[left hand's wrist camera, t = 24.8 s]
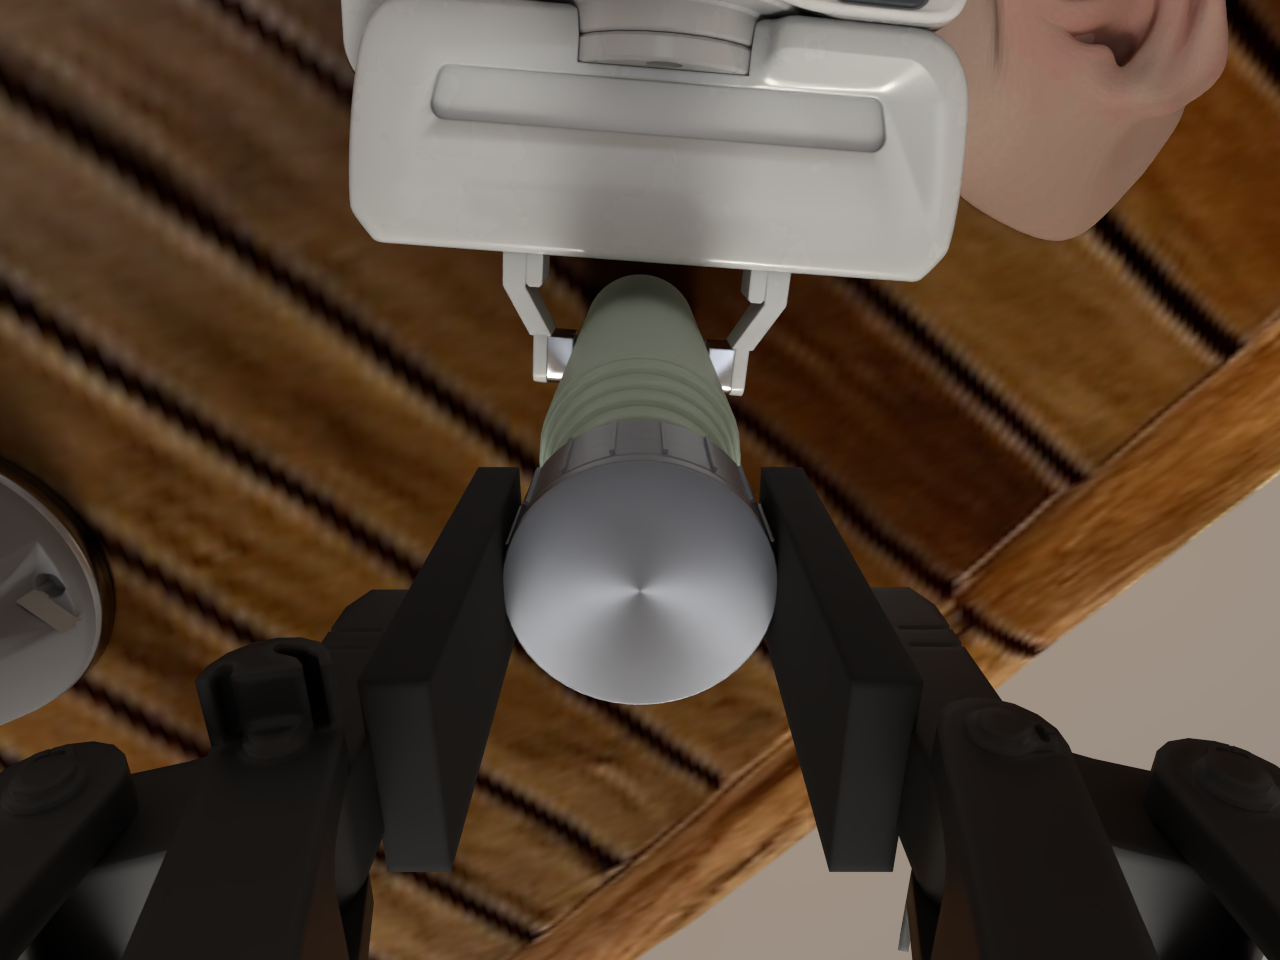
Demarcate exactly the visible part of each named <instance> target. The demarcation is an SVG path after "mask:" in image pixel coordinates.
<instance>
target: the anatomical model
mask: <svg viewBox="0 0 1280 960" xmlns="http://www.w3.org/2000/svg"><path fill="white" fill-rule="evenodd" d="M935 34H937V35H939V36H941V37H942V38H944V39H945V40H946V41H947V42H948V43H950V45H951V46H952V47H953V48H954V49H955V51H956V52H957V54H958V56H959V57H960V59H961V61H962V64H963V67H964V69H965V73H966V77H967V84H968V96H969V109H968V125H967V138H966V150H965V159H964V168H963V176H962V183H961V190H960V196H961V197H962V198H964V199H965V200H966V201H968V202H969V203H970V204H972V205H973V206H974V207H976V208H977V209H979V210H980V211H982V212H984V213H985V214H987V215H989V216H990V217H992V218H994V219H995V220H997V221H999V222H1001V223H1003V224H1005V225H1007V226H1009V227H1011V228H1013V229H1015V230H1017V231H1020V232H1022V233H1025V234H1028V235H1030V236H1033V237H1037V238H1040V239H1044V240H1051V241H1061V240H1066V239H1070V238H1073V237H1076V236H1078V235H1080V234H1082V233H1083V232H1085V231H1086V230H1088V229H1089V228H1091V227H1092V226H1093V225H1094V224H1095V223H1097V222H1098V221H1099V220H1100V219H1101V218H1102V217H1103V216H1104V215H1105V214H1106V213H1107V212H1108V211H1109V210H1110V209H1111V208H1112V207H1113V206H1114V205H1115V204H1116V203H1117V202H1118V201H1119V200H1120V198H1121V197H1122V196H1123V195H1124V194H1125V193H1126V192H1127V191H1128V190H1129V189H1130V187H1131V186H1132V185H1133V184H1134V183H1135V182H1136V181H1137V180H1138V179H1139V178H1140V176H1141V175H1142V174H1143V173H1144V172H1145V170H1146V169H1147V168H1148V166H1149V165H1150V164H1151V162H1152V161H1153V160H1154V158H1155V157H1156V155H1157V154H1158V153H1159V151H1160V150H1161V148H1162V147H1163V145H1164V144H1165V143H1166V141H1167V140H1168V138H1169V137H1170V136H1171V134H1172V132H1173V131H1174V129H1175V128H1176V126H1177V124H1178V122H1179V120H1180V118H1181V116H1182V113H1183V111H1184V108H1185V105H1186V104H1188V103H1190V102H1191V101H1193V100H1194V99H1196V98H1197V97H1199V96H1200V95H1202V94H1203V93H1204V92H1205V91H1207V90H1208V89H1209V88H1210V87H1211V86H1212V85H1213V84H1214V83H1215V82H1216V81H1217V79H1218V78H1219V77H1220V75H1221V73H1222V72H1223V70H1224V67H1225V65H1226V61H1227V56H1228V27H1227V15H1226V3H1225V0H967V1H966V4H965V6H964V8H963V9H962V11H961V12H960V14H959V15H958V16H957V17H955V18H954V19H953V20H952V21H951V22H950V23H948V24H947V25H946V26H944V27H943V28H941V29H940V30H939V31H937V32H935Z"/></svg>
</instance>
